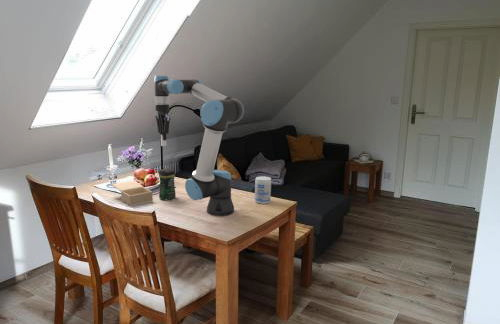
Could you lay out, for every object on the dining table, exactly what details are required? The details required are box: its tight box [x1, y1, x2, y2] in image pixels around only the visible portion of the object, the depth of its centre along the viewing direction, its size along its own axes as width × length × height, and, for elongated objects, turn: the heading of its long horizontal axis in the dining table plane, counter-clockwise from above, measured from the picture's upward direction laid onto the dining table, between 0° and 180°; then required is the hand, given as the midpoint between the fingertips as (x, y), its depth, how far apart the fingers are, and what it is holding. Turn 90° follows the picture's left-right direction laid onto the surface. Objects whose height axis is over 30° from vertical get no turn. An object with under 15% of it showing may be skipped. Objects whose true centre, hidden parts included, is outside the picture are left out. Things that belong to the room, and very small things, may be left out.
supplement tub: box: [254, 175, 272, 205], centre depth 232 cm, size 10×10×15 cm
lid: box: [112, 180, 144, 192], centre depth 238 cm, size 12×14×1 cm
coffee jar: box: [158, 167, 177, 201], centre depth 235 cm, size 10×8×19 cm
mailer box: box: [120, 186, 154, 207], centre depth 230 cm, size 12×14×6 cm
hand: (163, 145), depth 222 cm, fingers closed
